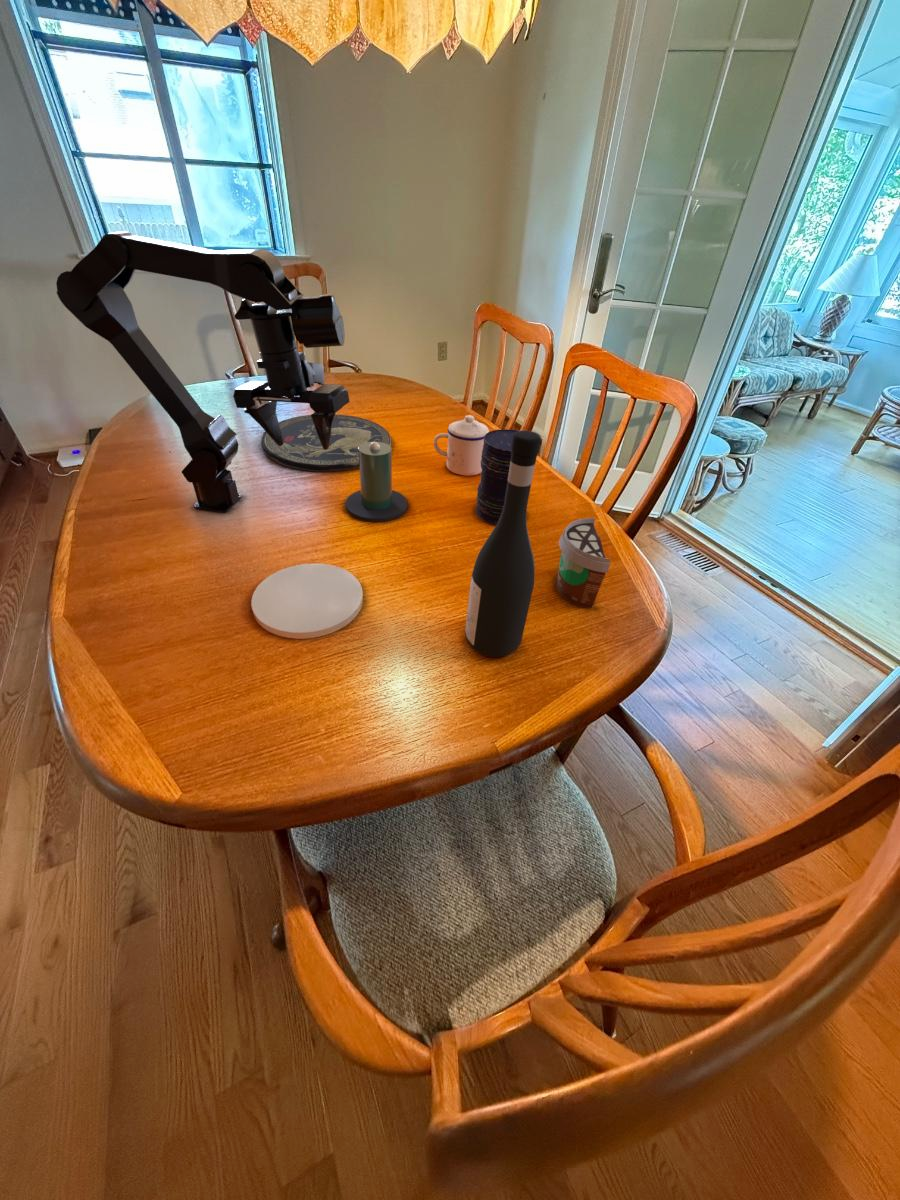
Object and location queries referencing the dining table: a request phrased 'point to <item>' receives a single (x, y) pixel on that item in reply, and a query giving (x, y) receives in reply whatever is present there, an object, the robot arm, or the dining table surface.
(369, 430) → the decorative plate
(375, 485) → the canister
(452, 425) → the teacup with lid
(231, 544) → the dining table surface
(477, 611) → the wine bottle
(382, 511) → the coaster
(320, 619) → the saucer plate
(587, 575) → the food container
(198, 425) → the robot arm
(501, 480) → the storage jar
